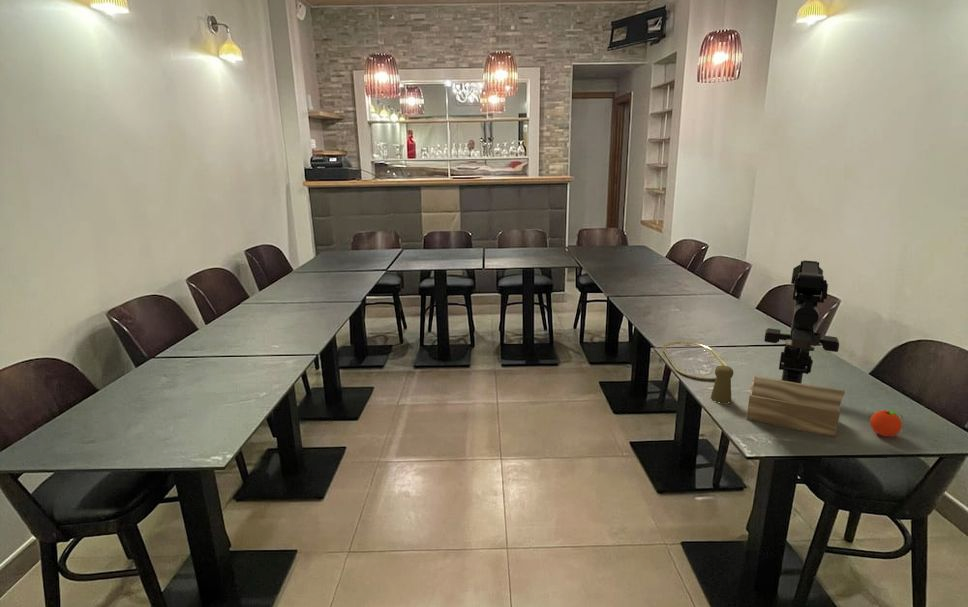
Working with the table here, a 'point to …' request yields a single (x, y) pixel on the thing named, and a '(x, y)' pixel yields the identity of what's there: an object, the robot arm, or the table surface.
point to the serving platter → (695, 344)
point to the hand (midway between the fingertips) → (796, 366)
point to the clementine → (886, 423)
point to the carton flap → (797, 393)
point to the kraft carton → (793, 415)
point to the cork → (722, 384)
